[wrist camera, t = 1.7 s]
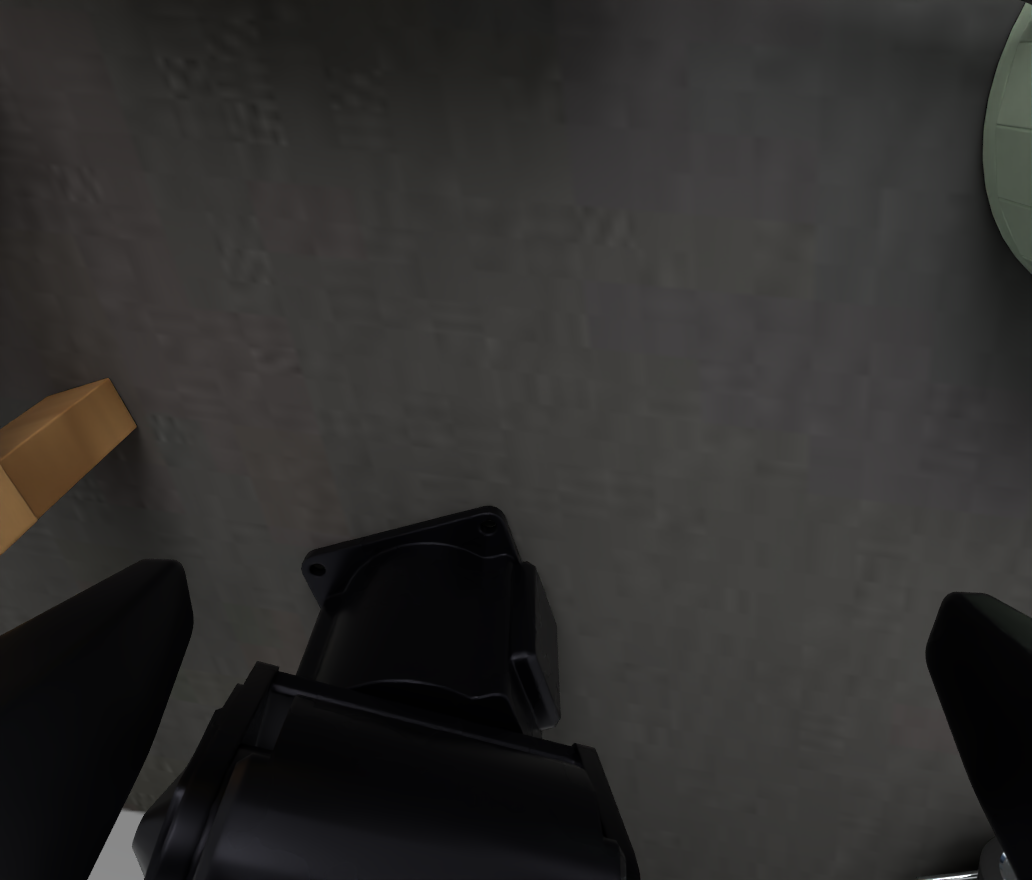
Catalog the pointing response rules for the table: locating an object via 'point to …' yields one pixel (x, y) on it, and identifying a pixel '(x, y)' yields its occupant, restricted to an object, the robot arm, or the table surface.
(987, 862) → the toy car
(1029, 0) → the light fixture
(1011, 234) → the bowl
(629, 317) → the table surface
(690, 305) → the table surface
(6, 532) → the wooden blocks
